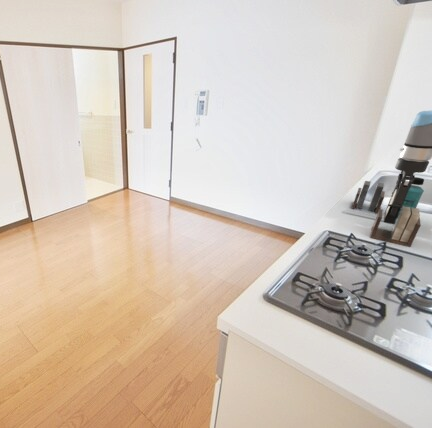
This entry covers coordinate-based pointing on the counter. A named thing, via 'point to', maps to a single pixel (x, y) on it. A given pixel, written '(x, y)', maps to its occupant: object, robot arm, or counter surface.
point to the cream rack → (399, 227)
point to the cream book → (390, 203)
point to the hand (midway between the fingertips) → (388, 218)
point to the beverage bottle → (413, 195)
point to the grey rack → (376, 198)
